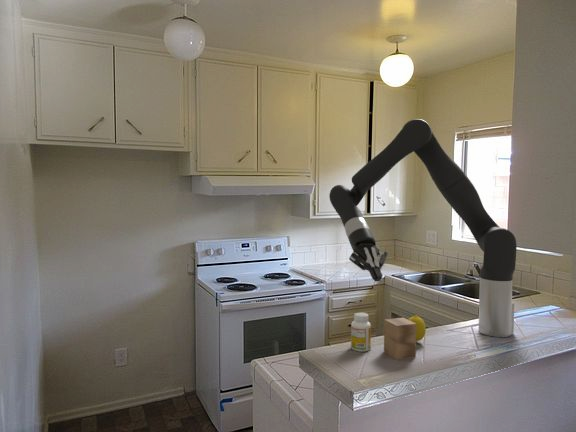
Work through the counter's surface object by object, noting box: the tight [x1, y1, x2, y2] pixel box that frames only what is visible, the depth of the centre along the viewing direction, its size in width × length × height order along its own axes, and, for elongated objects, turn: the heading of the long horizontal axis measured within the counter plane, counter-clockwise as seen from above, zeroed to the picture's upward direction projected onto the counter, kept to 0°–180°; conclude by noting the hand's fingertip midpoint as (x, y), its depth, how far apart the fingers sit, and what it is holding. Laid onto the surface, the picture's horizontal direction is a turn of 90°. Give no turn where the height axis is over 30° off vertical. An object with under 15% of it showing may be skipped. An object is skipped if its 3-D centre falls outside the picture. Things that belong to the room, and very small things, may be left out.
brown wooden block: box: [383, 317, 417, 360], centre depth 115 cm, size 6×6×9 cm
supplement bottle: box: [350, 312, 372, 353], centre depth 119 cm, size 5×5×10 cm
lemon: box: [408, 314, 427, 343], centre depth 125 cm, size 6×6×8 cm
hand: (378, 279), depth 125 cm, fingers closed
